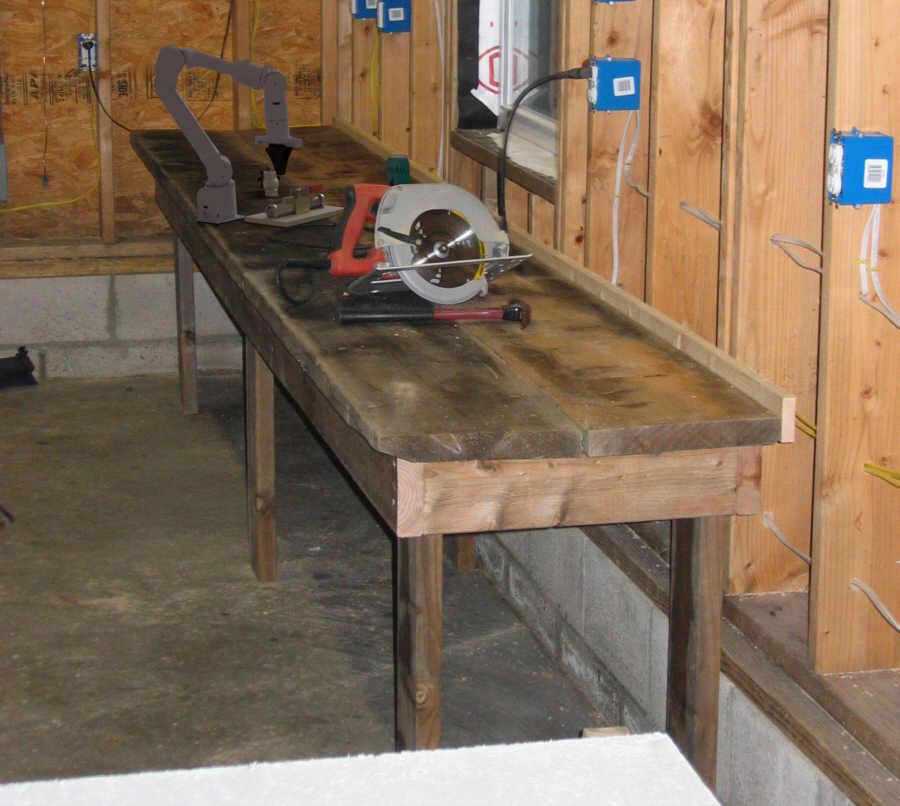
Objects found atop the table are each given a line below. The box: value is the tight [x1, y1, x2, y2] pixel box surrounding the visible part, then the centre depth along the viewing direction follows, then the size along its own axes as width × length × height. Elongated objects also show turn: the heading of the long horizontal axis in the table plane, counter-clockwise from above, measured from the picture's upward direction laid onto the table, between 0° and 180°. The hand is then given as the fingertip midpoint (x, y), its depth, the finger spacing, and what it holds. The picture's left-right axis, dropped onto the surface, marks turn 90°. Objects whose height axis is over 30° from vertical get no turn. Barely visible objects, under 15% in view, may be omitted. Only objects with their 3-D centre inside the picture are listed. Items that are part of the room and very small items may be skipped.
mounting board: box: [244, 205, 345, 228], centre depth 356 cm, size 22×14×1 cm, turn 142°
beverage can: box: [385, 154, 411, 186], centre depth 351 cm, size 6×6×15 cm
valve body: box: [264, 192, 327, 219], centre depth 355 cm, size 18×5×4 cm, turn 142°
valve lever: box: [289, 182, 324, 196], centre depth 357 cm, size 10×3×2 cm, turn 143°
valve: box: [255, 165, 281, 198], centre depth 390 cm, size 7×7×12 cm
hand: (280, 174), depth 354 cm, fingers closed
